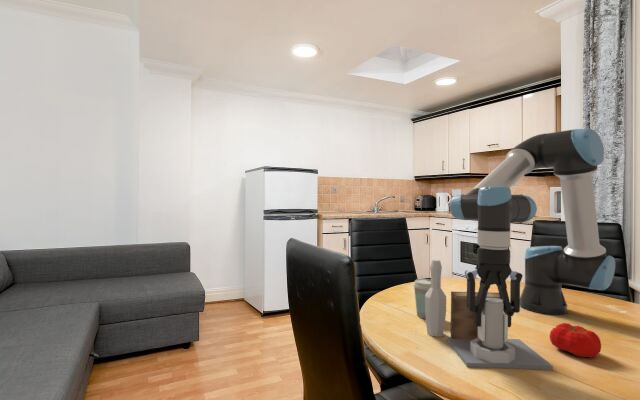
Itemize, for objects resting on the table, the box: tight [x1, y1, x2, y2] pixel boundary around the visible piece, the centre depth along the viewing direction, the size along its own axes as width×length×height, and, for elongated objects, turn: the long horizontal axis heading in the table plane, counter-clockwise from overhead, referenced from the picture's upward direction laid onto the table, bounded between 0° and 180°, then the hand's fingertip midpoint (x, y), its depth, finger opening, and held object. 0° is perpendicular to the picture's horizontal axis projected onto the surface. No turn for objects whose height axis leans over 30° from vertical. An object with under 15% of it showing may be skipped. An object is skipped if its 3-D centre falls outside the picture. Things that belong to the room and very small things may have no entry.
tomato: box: [549, 322, 602, 358], centre depth 95 cm, size 10×11×6 cm
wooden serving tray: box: [450, 291, 500, 339], centre depth 99 cm, size 14×4×14 cm, turn 87°
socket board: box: [446, 336, 554, 371], centre depth 94 cm, size 20×16×4 cm
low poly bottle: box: [425, 259, 447, 338], centre depth 107 cm, size 6×6×22 cm
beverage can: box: [482, 297, 504, 350], centre depth 91 cm, size 5×5×12 cm
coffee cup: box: [413, 278, 431, 320], centre depth 123 cm, size 8×8×12 cm
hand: (492, 338), depth 91 cm, fingers closed on beverage can, 5 cm apart
